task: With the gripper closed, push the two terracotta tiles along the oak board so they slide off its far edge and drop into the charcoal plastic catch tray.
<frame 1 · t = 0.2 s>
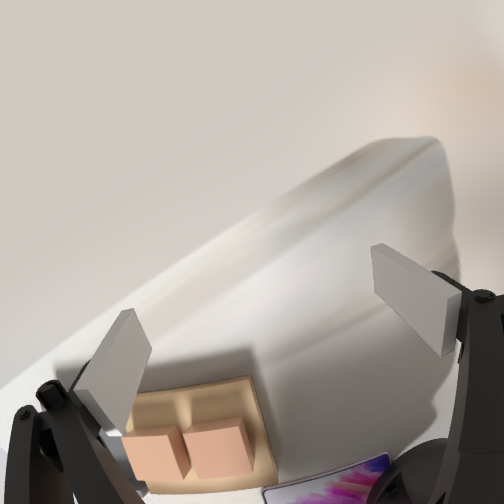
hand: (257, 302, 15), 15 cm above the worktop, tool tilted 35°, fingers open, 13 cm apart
catch tray: (102, 441, 26), on the worktop
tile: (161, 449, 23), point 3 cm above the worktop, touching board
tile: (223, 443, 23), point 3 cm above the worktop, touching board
board: (200, 437, 26), on the worktop
smartphone: (330, 492, 24), on the worktop
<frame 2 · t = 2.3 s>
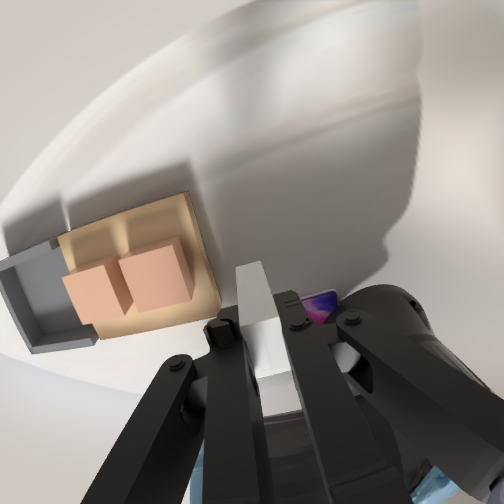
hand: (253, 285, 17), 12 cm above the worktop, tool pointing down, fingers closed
catch tray: (52, 291, 29), on the worktop
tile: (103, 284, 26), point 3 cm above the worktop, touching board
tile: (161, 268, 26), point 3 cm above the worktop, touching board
board: (141, 266, 29), on the worktop
smartphone: (277, 329, 33), on the worktop
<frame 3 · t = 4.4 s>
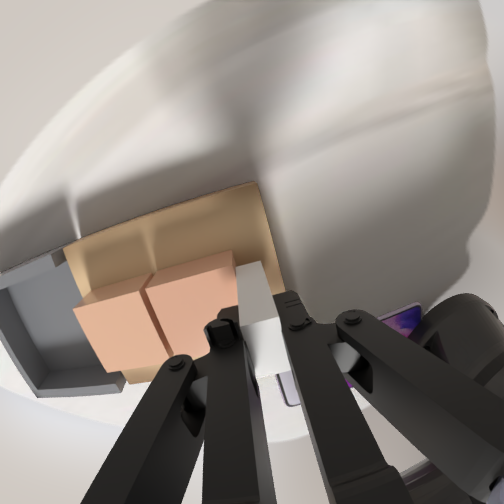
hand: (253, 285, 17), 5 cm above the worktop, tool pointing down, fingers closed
catch tray: (59, 318, 22), on the worktop
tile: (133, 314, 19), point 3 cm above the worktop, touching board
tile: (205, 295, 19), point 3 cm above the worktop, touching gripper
board: (184, 285, 22), on the worktop
smartphone: (352, 354, 26), on the worktop
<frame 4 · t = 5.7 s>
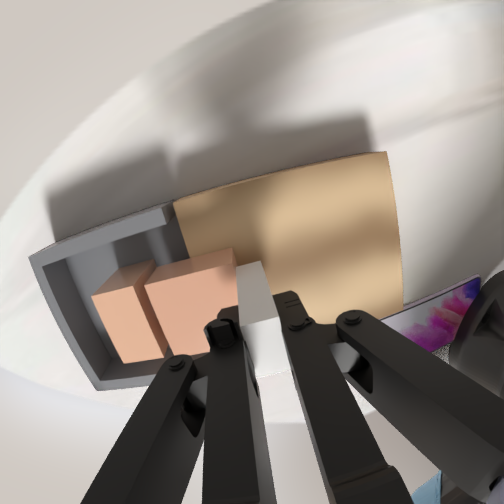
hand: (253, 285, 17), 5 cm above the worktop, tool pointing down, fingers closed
catch tray: (134, 294, 22), on the worktop
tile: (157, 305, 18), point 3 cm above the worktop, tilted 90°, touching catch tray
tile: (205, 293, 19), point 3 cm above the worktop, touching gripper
board: (297, 251, 22), on the worktop
smartphone: (425, 323, 25), on the worktop
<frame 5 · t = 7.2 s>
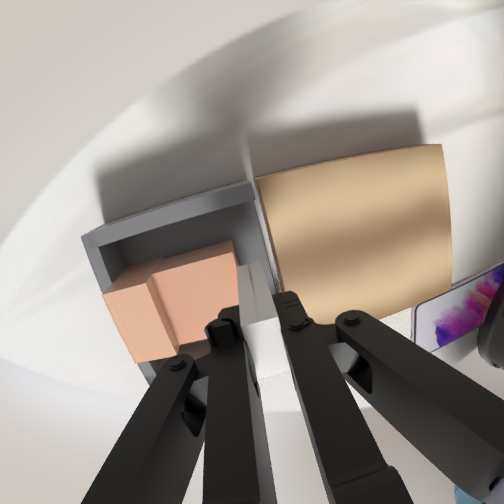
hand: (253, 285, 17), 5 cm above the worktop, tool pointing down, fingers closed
catch tray: (195, 279, 22), on the worktop
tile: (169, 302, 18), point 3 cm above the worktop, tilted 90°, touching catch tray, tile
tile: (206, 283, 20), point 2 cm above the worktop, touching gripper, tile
board: (360, 234, 22), on the worktop
smartphone: (460, 306, 26), on the worktop
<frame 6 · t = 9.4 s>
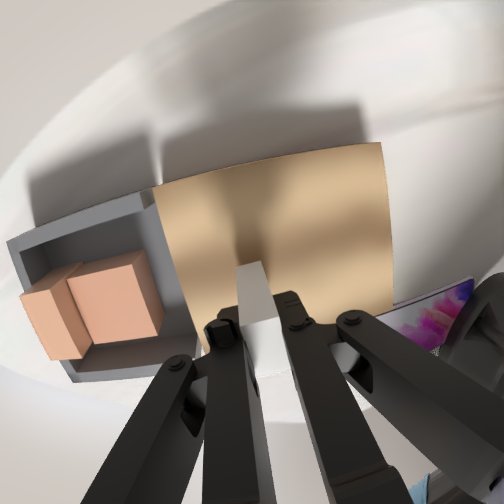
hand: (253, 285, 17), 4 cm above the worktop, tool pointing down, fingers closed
catch tray: (112, 283, 20), on the worktop
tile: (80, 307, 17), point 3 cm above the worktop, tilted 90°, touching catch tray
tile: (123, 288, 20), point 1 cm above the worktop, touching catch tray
board: (282, 243, 21), on the worktop
smartphone: (415, 324, 25), on the worktop
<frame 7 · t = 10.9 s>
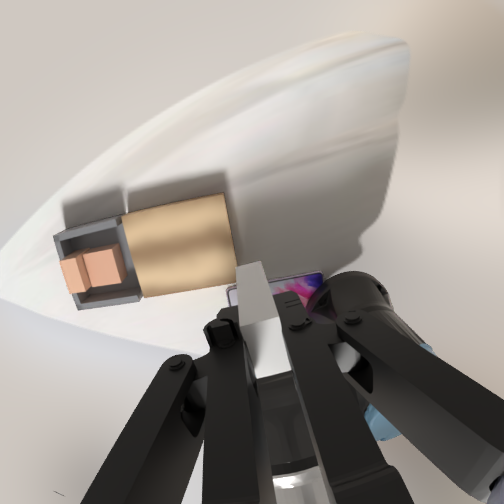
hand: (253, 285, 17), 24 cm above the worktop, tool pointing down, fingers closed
catch tray: (103, 259, 41), on the worktop
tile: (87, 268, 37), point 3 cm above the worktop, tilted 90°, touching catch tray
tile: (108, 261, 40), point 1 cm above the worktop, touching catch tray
board: (183, 243, 41), on the worktop
smartphone: (277, 298, 45), on the worktop
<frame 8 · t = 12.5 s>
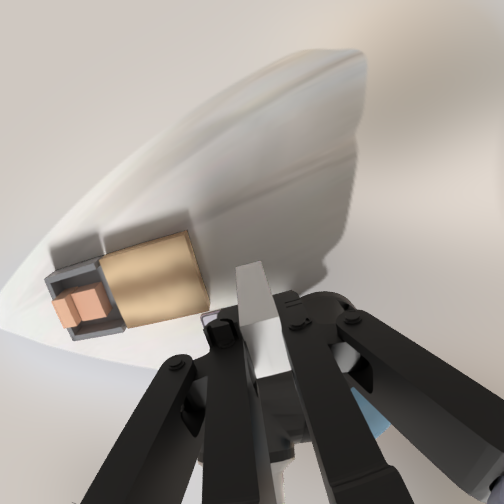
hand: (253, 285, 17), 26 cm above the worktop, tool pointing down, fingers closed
catch tray: (91, 295, 44), on the worktop
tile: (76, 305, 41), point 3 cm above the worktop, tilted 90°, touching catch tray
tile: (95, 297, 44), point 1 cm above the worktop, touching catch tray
board: (156, 278, 44), on the worktop
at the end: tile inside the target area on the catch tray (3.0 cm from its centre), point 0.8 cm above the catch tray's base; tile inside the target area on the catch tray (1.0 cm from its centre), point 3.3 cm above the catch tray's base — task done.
